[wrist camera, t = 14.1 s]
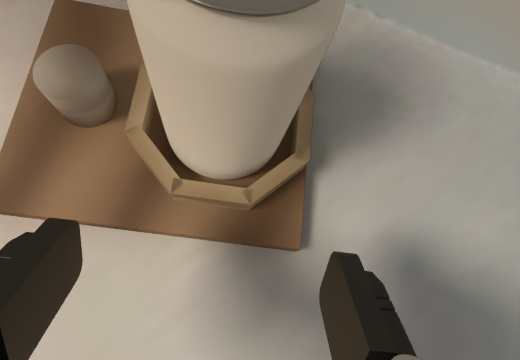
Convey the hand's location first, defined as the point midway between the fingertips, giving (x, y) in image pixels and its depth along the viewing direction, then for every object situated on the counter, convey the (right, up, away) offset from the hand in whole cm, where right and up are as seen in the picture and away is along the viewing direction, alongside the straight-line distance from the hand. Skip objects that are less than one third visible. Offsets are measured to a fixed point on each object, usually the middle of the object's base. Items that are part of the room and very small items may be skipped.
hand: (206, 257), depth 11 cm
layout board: (-3, +6, +10) cm, 12 cm away
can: (0, +5, +9) cm, 10 cm away
